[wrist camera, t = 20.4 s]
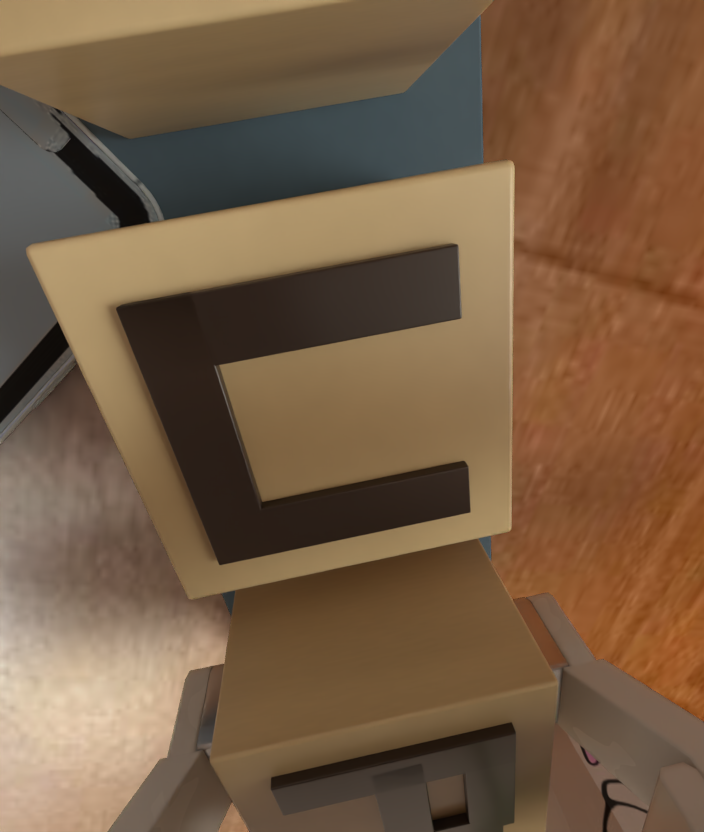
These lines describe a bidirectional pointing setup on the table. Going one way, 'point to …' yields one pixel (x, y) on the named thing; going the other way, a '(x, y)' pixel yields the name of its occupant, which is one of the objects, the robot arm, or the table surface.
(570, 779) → the cup
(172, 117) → the tile
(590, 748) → the robot arm
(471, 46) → the mat
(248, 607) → the tile
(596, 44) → the table surface
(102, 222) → the smartphone
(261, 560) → the tile
